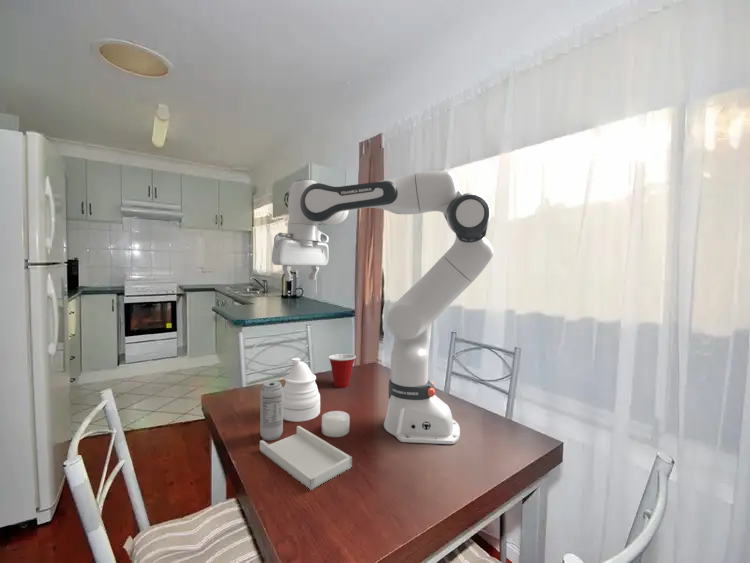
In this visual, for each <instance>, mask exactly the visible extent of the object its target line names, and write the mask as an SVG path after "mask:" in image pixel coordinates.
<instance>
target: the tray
mask: <svg viewBox="0 0 750 563" xmlns="http://www.w3.org/2000/svg"><path fill="white" fill-rule="evenodd" d="M259 452H261V453H262V454H263V455H265V456H266V457H267V458H269V459H270V460H271V461H272V462H274V463H275V464H276V465H277V466H279V467H280V468H281V469H282V470H284V471H285V472H286V471H287V473H288V474H289V475H290V476H291V475H292V476H291V477H292V478H294V479H296V481H297V482H299V481H300V482H301V483H300V482H299V483H300V484H302V485H303V484H304V485H305V486H306V488H307V487H308V488H309V489H310V490H309V489H308V488H307V489H308V490H309V491H311V490H312V491H313V489H314V488H315V489H317V488H319V487H321V486H322V485H324V484H326V483H327V481H328V480H329V481H331V480H333V479H335V478H336V477H338V476H339V474H340V475H342V474H343V473H345V472H347V471H348V470H351V467H352V468H353V456H351V455H350V454H347V453H346V452H344V451H343V450H341V449H340V448H337V447H335V446H334V445H332V444H330V443H329V442H327V441H326V440H324V439H323V438H320V437H319V436H317V435H315V434H314V433H312V432H310V431H309V430H308V429H305V428H303V427H302V426H300V425H297V426H296V433H295V434H292V435H290V436H287V437H285V438H283V439H280V440H278V441H277V440H276V441H275V442H272V443H268V442H266V440H264V439H262V440H259ZM346 470H347V471H346ZM337 475H338V476H337ZM334 477H335V478H334ZM332 478H333V479H332ZM330 479H331V480H330ZM329 481H328V482H329ZM325 482H326V483H325ZM323 483H324V484H323ZM321 484H322V485H321ZM304 485H303V486H304ZM320 485H321V486H320ZM305 486H304V487H305ZM318 486H319V487H318ZM316 487H317V488H316ZM315 489H314V490H315Z"/></svg>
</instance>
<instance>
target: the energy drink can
mask: <svg viewBox="0 0 750 563" xmlns="http://www.w3.org/2000/svg"><path fill="white" fill-rule="evenodd" d="M283 387H284V386H282V382H281V381H280V380H277V379H276V380H274V379H273V380H267V381H264V382H263V383H262V387H261V388H260V408H259V410H260V411H259V413H260V416H259V418H260V419H259V420H260V423H259V424H260V430H259V432H260V436H261V437H262V438H261V439H262V440H263V441H275V440H277V439H279V438H281V435H282V434H283V432H284V427H283V426H284V425H283V424H284V419H283Z"/></svg>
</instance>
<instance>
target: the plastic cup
mask: <svg viewBox="0 0 750 563" xmlns="http://www.w3.org/2000/svg"><path fill="white" fill-rule="evenodd" d="M356 357H357V356H356V355H355V354H351V353H336V354H332V355H331V354H330V355H329V356H328V359H329V362H330V367H331V373H332V379H333V385H334V387H335V388H338V389H339V388H340V389H345V388H348V387H349V386H350V382H351V378H352V372H353V368H354V364H355V363H354V362H355V359H356Z"/></svg>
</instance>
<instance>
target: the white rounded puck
mask: <svg viewBox="0 0 750 563" xmlns="http://www.w3.org/2000/svg"><path fill="white" fill-rule="evenodd" d="M350 418H351V417H350V414H349V413H347V412H345V411H342V410H333V411H332V410H331V411H328V412H325V413H323V414H322V416H321V433H322V434H323V435H324V436H326V437H328V438H340V437H344V436H346V435H347V434H348V433H349V432H350Z"/></svg>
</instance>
